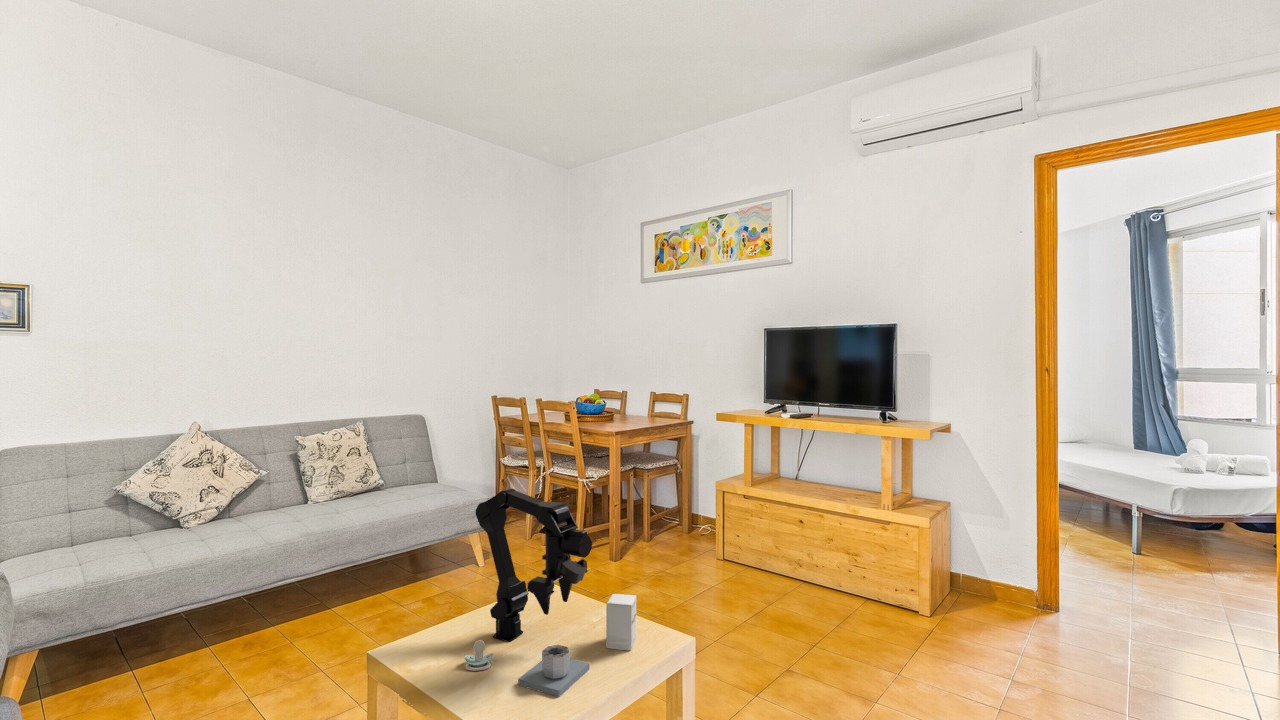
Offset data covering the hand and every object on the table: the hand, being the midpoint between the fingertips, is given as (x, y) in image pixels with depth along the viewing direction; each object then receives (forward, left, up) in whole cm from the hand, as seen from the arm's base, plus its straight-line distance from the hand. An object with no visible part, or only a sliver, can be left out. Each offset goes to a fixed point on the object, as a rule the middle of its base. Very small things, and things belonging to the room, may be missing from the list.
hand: (556, 607), depth 162 cm
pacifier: (-14, -15, -12) cm, 24 cm away
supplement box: (+14, +12, -12) cm, 22 cm away
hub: (+8, -12, -10) cm, 17 cm away
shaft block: (+7, -11, -12) cm, 18 cm away
